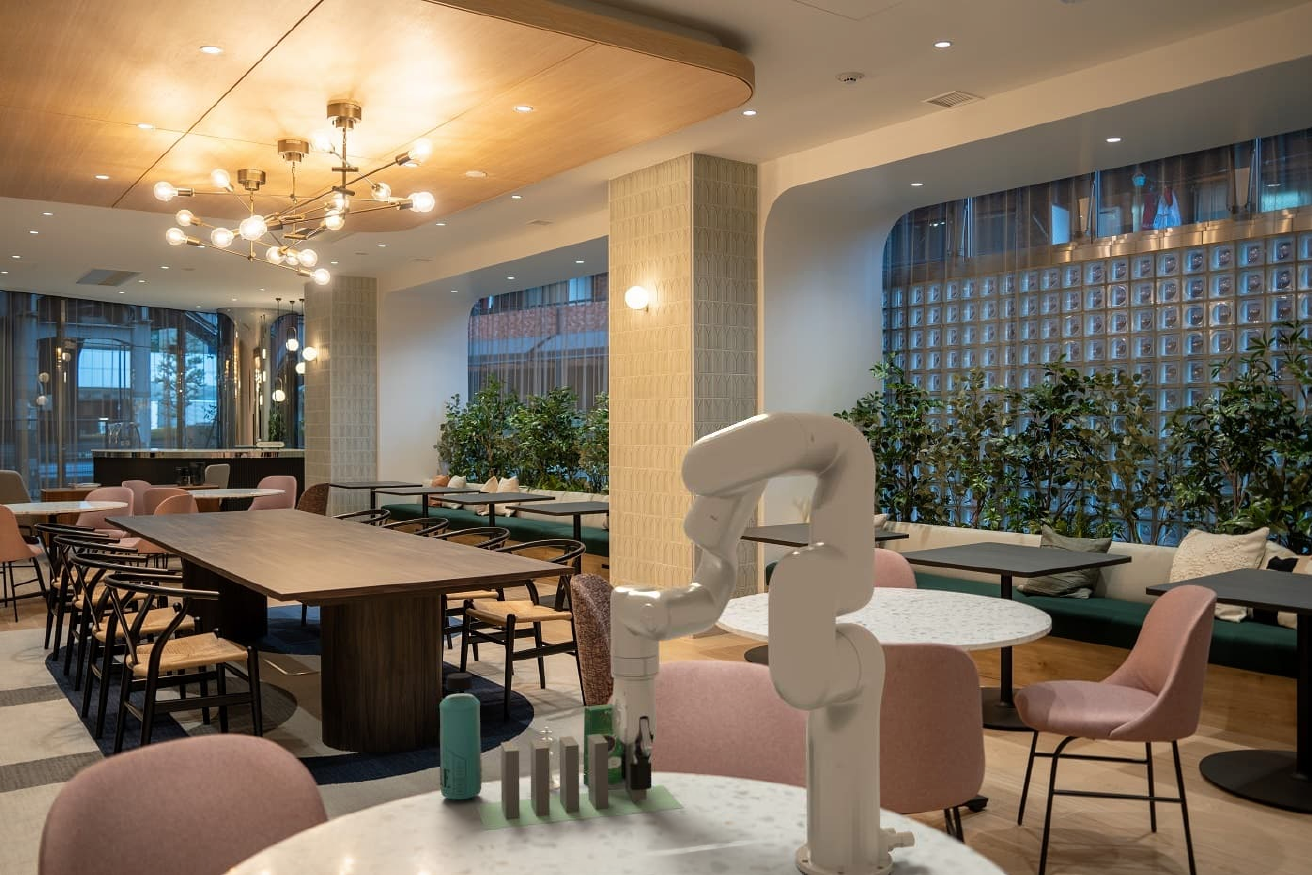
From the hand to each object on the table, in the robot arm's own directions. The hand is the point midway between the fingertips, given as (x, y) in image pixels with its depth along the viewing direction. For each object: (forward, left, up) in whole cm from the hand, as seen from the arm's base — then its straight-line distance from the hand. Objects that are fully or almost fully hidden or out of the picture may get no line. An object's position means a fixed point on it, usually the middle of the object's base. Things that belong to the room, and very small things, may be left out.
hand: (636, 782), depth 161 cm
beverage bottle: (+26, -9, -4) cm, 28 cm away
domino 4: (+6, 0, -3) cm, 7 cm away
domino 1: (+20, 0, -3) cm, 20 cm away
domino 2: (+15, 0, -3) cm, 15 cm away
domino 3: (+11, 0, -3) cm, 11 cm away
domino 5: (0, 0, -2) cm, 2 cm away
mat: (+9, 0, -3) cm, 10 cm away
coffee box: (+2, -10, -4) cm, 11 cm away
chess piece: (+12, -11, -4) cm, 17 cm away
